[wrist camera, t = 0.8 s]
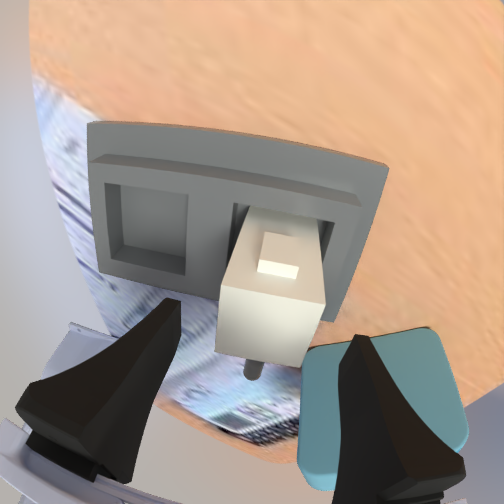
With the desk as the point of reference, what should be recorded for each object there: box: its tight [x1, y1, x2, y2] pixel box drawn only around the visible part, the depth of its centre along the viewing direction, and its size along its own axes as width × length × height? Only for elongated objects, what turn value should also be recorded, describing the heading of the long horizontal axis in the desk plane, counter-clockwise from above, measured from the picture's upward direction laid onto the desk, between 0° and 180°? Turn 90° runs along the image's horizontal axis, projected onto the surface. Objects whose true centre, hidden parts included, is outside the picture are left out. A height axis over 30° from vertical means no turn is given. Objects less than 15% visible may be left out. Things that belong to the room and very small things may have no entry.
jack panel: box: [87, 121, 389, 322], centre depth 19 cm, size 19×12×3 cm, turn 82°
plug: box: [214, 206, 326, 381], centre depth 17 cm, size 4×8×8 cm, turn 172°
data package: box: [297, 328, 469, 491], centre depth 20 cm, size 12×4×12 cm, turn 107°
